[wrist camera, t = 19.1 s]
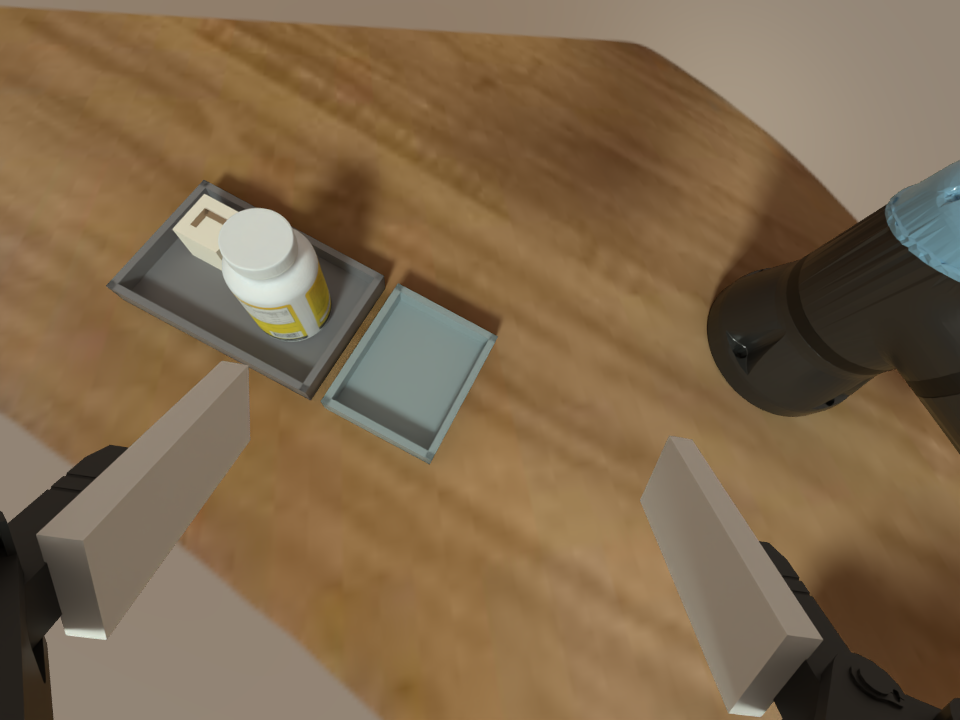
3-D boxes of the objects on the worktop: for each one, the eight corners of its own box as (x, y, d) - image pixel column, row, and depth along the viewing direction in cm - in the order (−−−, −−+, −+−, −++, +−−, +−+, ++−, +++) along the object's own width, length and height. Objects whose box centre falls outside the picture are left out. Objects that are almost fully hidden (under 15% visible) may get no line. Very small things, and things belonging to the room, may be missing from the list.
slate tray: (398, 295, 45) (398, 283, 43) (492, 346, 45) (497, 336, 43) (325, 408, 41) (320, 401, 38) (429, 464, 41) (431, 460, 38)
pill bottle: (322, 269, 44) (296, 186, 33) (341, 333, 42) (320, 269, 31) (247, 286, 42) (193, 205, 31) (264, 353, 41) (213, 293, 30)
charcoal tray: (214, 197, 45) (203, 179, 43) (384, 288, 45) (384, 275, 43) (122, 299, 41) (106, 285, 39) (310, 400, 41) (305, 393, 38)
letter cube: (221, 221, 44) (203, 193, 40) (260, 242, 44) (246, 215, 40) (192, 254, 42) (171, 228, 39) (232, 276, 42) (215, 251, 38)
